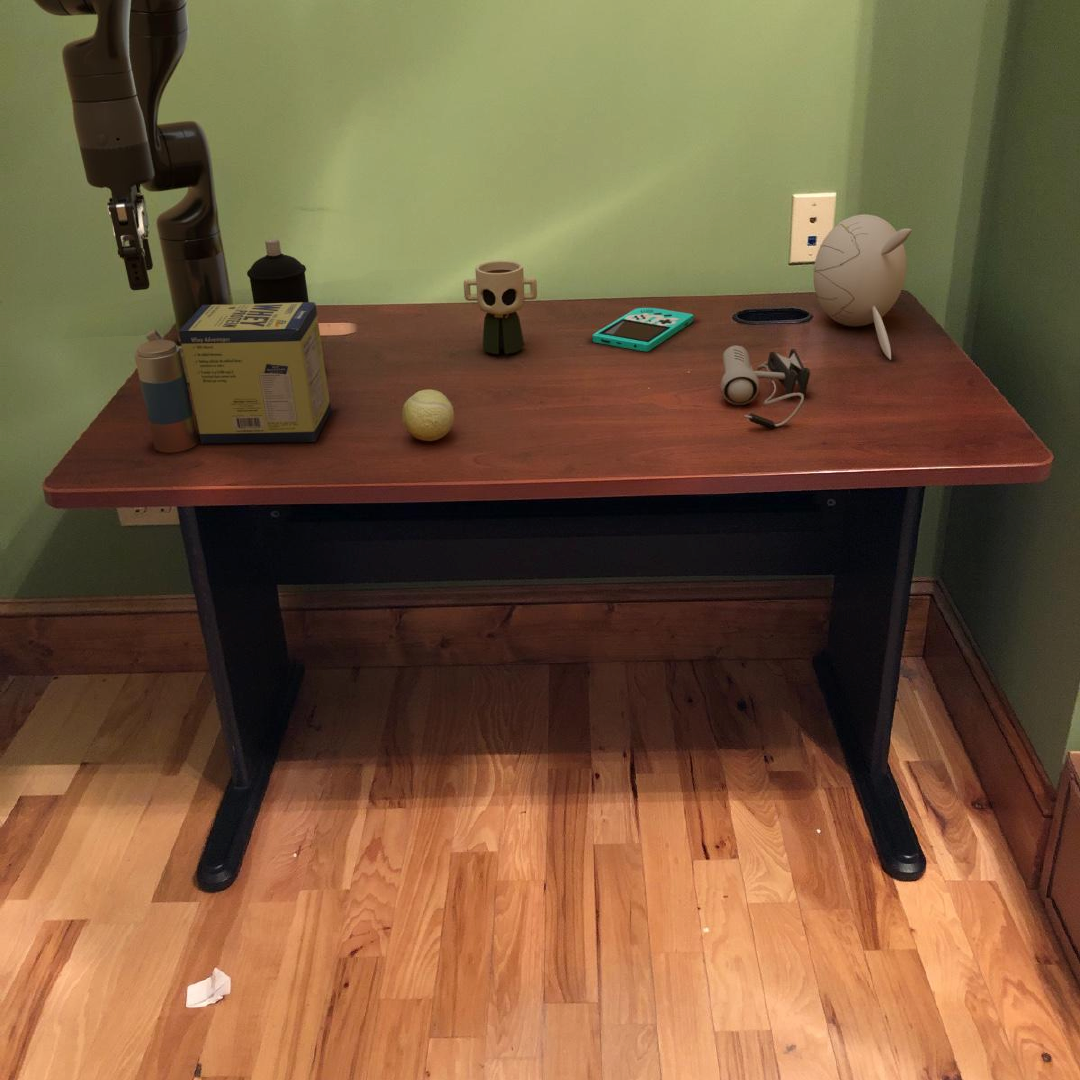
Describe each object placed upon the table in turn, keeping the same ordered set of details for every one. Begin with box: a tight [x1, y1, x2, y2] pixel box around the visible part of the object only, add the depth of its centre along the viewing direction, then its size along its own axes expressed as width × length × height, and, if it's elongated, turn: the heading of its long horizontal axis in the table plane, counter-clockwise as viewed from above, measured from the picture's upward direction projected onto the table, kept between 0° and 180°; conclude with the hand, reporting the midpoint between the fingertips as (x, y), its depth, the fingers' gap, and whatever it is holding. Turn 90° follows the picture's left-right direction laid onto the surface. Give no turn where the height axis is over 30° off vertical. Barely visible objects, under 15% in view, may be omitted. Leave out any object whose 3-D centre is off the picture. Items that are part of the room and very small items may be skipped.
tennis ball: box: [401, 389, 455, 442], centre depth 146 cm, size 6×7×7 cm
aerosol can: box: [246, 238, 310, 304], centre depth 164 cm, size 8×8×20 cm
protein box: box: [177, 301, 332, 445], centre depth 149 cm, size 10×16×16 cm
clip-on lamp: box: [720, 345, 811, 430], centre depth 152 cm, size 12×6×18 cm
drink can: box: [133, 339, 199, 454], centre depth 146 cm, size 6×6×13 cm
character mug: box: [463, 259, 538, 355], centre depth 172 cm, size 11×7×13 cm, turn 87°
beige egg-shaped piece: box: [813, 214, 913, 361], centre depth 173 cm, size 19×14×25 cm
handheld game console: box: [592, 307, 694, 353], centre depth 180 cm, size 10×16×1 cm, turn 148°
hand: (142, 279), depth 138 cm, fingers open, 8 cm apart
